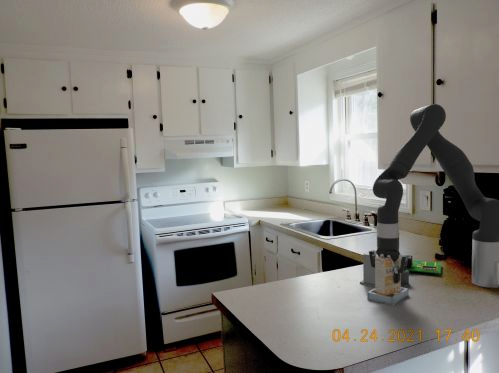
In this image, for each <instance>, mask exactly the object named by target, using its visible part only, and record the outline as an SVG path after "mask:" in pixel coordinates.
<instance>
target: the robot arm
mask: <svg viewBox="0 0 499 373" xmlns="http://www.w3.org/2000/svg"><path fill="white" fill-rule="evenodd" d="M409 116H410V117H409V121H410V122H409V123H410V125H411V127H412V130H414V133H413V135H412V136H411V137H409V139H408V140H407V141H406V142H405V143H404V144H403V145H402V146H401V147H400V148H399V150H397V152H396V154H395V155H394V157H393V158H392V160H391V162H390V164H389V166H387V168H385V169H384V171H382V173H381V174H379V175H378V177H377V178H376V179H375V181H374V182H373V185H372V192H373V195H374V196H375V197H376V198H379V199H385V203H384V204H382V205H379V206H378V208H377V214H376V215H377V218H376V219H377V221H376V222H377V224H376V248H377V249H372V250H369V251H368V252H369V256H370V262H371V266H372V267H374V268H375V257H376V255H378V257H388V258H389V259H390V260H391V261H392V262H391V266H392V268H393V269H394V272H395V273H394V283H395V284H397V283H399V282H400V273H403V272H405V271H406V267H407V262H408V256H409V255H408V256H407V254H405V256H404V254H401V252H400V225H399V210H400V207H401V204H402V199H403V195H404V187H403V185H402V182H401V181H400V180H402V179H405V178H407V176H408V175H409V173H410V172H411V170H412V168H413V167H414V165H415V163H416V162H417V159H418V158H419V156H420V154H421V153H422V152H423V150H424V149H425V148H426V147H428V149H429V150H430V152H431V153H432V156H434V158H435V159H436V161H437V162H438V164H439V165H440V167H441V169H442V170H443V172H444V174H445V176H446V177H447V178H448V179H449V181H450V182H451V184H452V185H453V187H454V188H455V190H456V191H457V193H458V194H459V196H460V197H461V198H460V199H461V200H462V202H463V204H464V206H465V208H466V210H467V212H468V215H470V217H471V218H473V219H474V220H476V221H479V228H478V229H477V230H474V231H472V237H471V238H472V243H471V244H472V245H471V246H472V250H471V252H472V253H471V254H472V255H471V283H472V284H473V285H475V286H477V287H483V288H493V289H498V288H499V199H496V198H490V197H486V196H485V195H484V194H483V193H482V192H481V190H480V189H479V187H478V185H477V183H476V180H475V171H474V166H473V164H472V163H471V161H470V160H469V158H468V156H467V155H466V153H465V152H464V151H463V150H462V149H461V148H459V147H458V146H457V145H456V144H454V143H452V142H451V141H450V140H448V139H446V138H445V137H444V136H443V135H442V133H441V132H440V129H441V128H442V127H443V125H444V124H445V123H446V122H445V121H446V119H447V118H446V117H447V114H446V111H445V108H443V106H442V105H440V104H438V103H431V104H427V105H425V106H422V107H420V108H419V107H418V108H416V109H414V110H413V111H412V112H411V113H410V115H409ZM375 250H376V251H375ZM398 258H400V261H401V265H400V267H399V262H398V261H397V259H398ZM396 261H397V264H394V263H395V262H396Z"/></svg>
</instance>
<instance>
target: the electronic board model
mask: <svg viewBox="0 0 499 373" xmlns="http://www.w3.org/2000/svg"><path fill="white" fill-rule="evenodd" d="M403 255H404V254H403ZM405 255H407V254H405ZM405 255H404V256H405ZM407 256H408V262H407V267H406V270H408V271H409V274H411V273H412V272H420V273H429V274H439V275H440V274H441V271H442V270H441V269H442V263H441V262H436V261H435V262H433V261H425V260H424V261H423V260H413V255H407Z"/></svg>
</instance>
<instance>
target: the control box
mask: <svg viewBox="0 0 499 373" xmlns="http://www.w3.org/2000/svg"><path fill="white" fill-rule="evenodd" d="M374 250H375V251H376V250H377V249H374ZM362 255H363V256H362V258H363V259H362V262H363V263H362V264H363V268H362V269H363V270H362V272H363V276H362V277H363V280H360V281H359V284H360V285H362V286H363V285H364V286H369V287H372V288H375V268H374V267H372V266H371V262H370V256H369V251H367V252H366V253H365V252H364V253H363V254H362ZM376 257H378V255H376Z"/></svg>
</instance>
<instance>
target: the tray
mask: <svg viewBox="0 0 499 373" xmlns="http://www.w3.org/2000/svg"><path fill="white" fill-rule="evenodd" d="M366 293H367V294H366V295H367V296H366V297H367V298H366V300H370V301H373V302H377V303H381V304H385V305H390V306H394V305H396V304H397V303H399V302H401V301H402V300H404V299H405V298H406V297H408V296H409V288H406V287H402V286H401V292H396V293H393V294H389V295H386V296H384V295H381V294H378V293H376V292H375V287H373V288H372V289H370V290H369V291H367V292H366Z"/></svg>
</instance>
